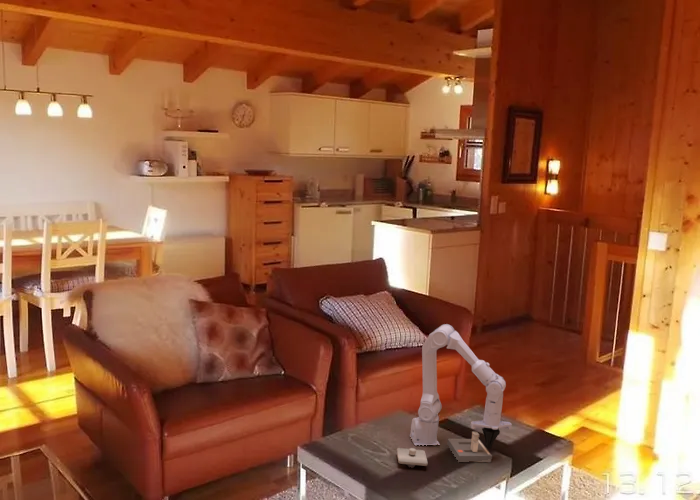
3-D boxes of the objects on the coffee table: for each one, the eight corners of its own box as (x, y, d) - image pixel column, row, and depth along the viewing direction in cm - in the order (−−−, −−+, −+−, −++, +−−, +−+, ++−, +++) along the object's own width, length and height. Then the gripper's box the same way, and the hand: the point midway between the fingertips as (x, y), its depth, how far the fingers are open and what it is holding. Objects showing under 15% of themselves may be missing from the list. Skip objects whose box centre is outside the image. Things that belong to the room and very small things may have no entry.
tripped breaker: (472, 452, 228) (473, 442, 228) (470, 448, 231) (471, 439, 230) (477, 452, 229) (478, 442, 228) (474, 448, 231) (476, 439, 231)
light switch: (423, 457, 228) (425, 443, 227) (427, 471, 218) (428, 457, 217) (395, 455, 227) (397, 441, 227) (398, 469, 218) (399, 454, 217)
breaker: (473, 444, 235) (474, 435, 234) (471, 440, 237) (472, 431, 237) (478, 444, 235) (479, 435, 234) (475, 440, 237) (476, 431, 237)
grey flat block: (458, 462, 226) (459, 455, 225) (447, 445, 238) (447, 438, 238) (491, 462, 228) (492, 455, 227) (478, 445, 240) (478, 438, 240)
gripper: (477, 415, 223) (472, 452, 225) (517, 416, 226) (512, 452, 228) (470, 407, 230) (465, 443, 232) (508, 407, 233) (504, 443, 235)
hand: (488, 447), depth 231 cm, fingers closed
